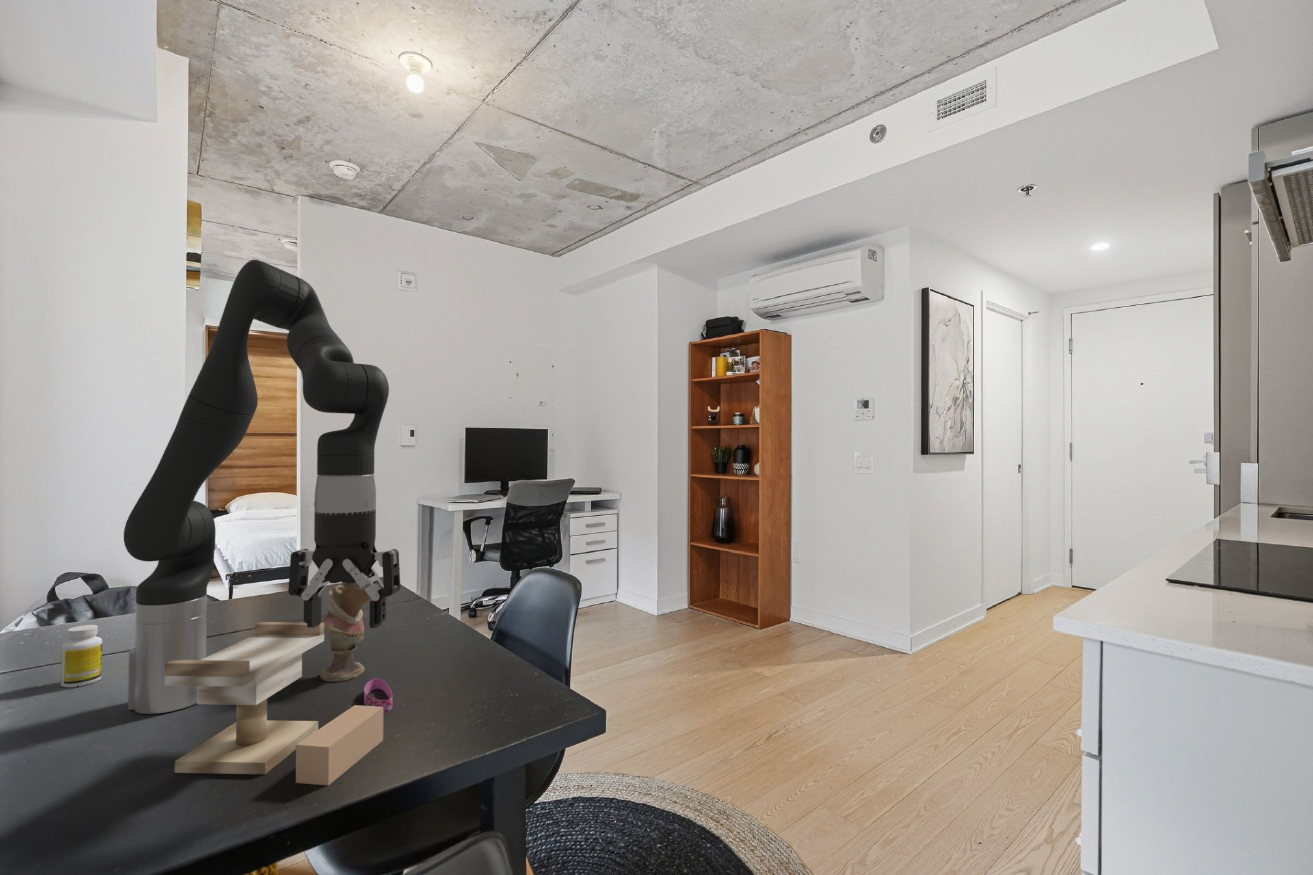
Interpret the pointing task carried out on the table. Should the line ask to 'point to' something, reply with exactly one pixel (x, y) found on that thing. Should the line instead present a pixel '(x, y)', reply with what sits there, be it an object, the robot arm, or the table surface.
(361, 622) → the decorative bust
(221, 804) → the table surface
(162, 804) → the table surface
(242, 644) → the display stand
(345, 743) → the tan block
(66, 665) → the supplement bottle
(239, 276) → the robot arm
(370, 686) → the headband
